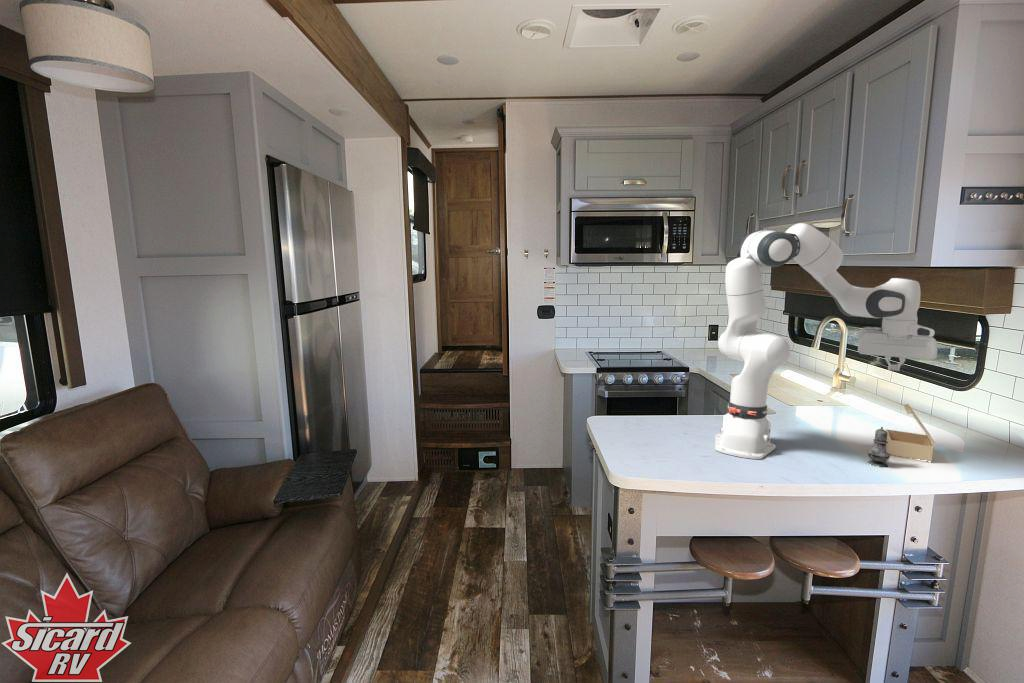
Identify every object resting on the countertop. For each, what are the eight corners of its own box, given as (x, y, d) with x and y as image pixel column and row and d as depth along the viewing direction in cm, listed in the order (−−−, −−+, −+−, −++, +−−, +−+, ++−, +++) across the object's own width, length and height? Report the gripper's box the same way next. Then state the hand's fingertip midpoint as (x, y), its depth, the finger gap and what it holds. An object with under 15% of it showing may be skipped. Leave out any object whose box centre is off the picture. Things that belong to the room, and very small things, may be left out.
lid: (931, 447, 150) (936, 445, 149) (907, 414, 152) (912, 412, 152) (924, 435, 161) (929, 433, 161) (903, 404, 164) (907, 402, 163)
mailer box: (931, 462, 150) (933, 446, 150) (887, 454, 157) (888, 439, 156) (925, 449, 162) (927, 434, 161) (884, 442, 168) (885, 428, 167)
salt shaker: (884, 469, 145) (889, 430, 143) (862, 462, 150) (866, 425, 148) (893, 465, 148) (897, 427, 146) (870, 459, 153) (875, 422, 151)
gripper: (859, 326, 159) (854, 368, 161) (941, 331, 147) (935, 375, 149) (859, 325, 164) (854, 365, 166) (938, 329, 153) (932, 372, 155)
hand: (893, 370), depth 158 cm, fingers closed
